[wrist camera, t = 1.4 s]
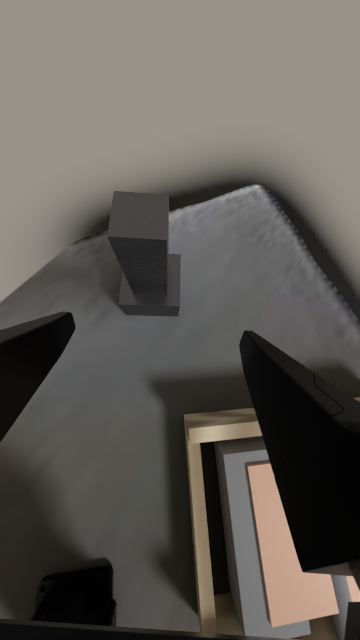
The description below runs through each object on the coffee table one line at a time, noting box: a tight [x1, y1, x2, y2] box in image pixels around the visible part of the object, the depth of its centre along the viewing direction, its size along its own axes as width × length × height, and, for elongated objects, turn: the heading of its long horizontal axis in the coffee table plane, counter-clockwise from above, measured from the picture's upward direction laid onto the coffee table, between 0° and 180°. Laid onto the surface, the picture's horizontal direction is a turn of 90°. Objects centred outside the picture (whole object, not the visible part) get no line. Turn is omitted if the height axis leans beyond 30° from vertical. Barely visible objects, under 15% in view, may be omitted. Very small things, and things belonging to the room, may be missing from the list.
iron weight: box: [107, 191, 180, 316], centre depth 19 cm, size 7×7×13 cm
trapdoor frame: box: [184, 397, 360, 640], centre depth 17 cm, size 26×17×5 cm, turn 94°
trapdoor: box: [214, 436, 360, 640], centre depth 17 cm, size 22×14×4 cm, turn 94°
